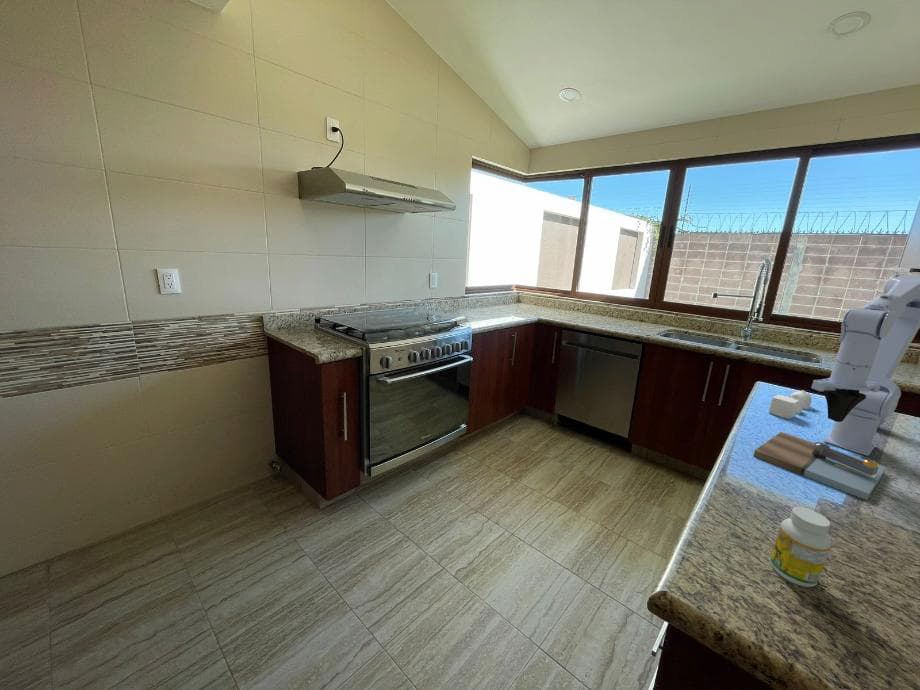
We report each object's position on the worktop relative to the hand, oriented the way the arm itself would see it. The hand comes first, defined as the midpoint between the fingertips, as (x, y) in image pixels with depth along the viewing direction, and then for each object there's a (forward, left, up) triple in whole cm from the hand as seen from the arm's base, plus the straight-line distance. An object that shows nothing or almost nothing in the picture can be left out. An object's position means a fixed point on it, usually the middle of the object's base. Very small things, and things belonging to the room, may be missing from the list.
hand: (834, 419), depth 86 cm
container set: (-30, -13, -10) cm, 34 cm away
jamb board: (+6, -4, -9) cm, 12 cm away
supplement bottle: (+50, +7, -10) cm, 51 cm away
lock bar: (+6, +4, -8) cm, 10 cm away
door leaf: (+6, +5, -9) cm, 12 cm away
